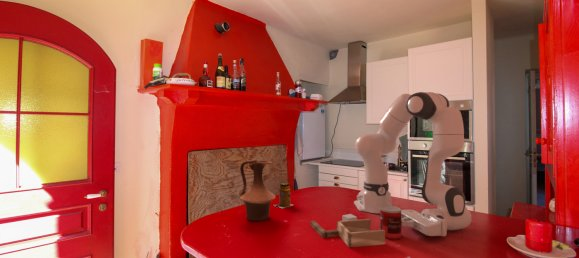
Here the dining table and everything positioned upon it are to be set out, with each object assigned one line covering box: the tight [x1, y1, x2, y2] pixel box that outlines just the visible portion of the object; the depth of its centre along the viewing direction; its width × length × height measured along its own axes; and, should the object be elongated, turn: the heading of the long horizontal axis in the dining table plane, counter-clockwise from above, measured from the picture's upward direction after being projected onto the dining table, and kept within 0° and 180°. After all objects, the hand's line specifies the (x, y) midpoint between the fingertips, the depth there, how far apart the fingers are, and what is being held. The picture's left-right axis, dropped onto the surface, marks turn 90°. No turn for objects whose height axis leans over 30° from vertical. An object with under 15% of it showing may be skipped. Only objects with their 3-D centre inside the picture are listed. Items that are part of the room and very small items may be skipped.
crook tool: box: [309, 220, 340, 239], centre depth 116 cm, size 14×7×2 cm, turn 16°
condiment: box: [273, 182, 294, 209], centre depth 152 cm, size 7×8×12 cm
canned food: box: [379, 205, 402, 241], centre depth 110 cm, size 8×8×11 cm
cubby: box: [336, 218, 386, 248], centre depth 108 cm, size 13×14×5 cm
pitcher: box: [238, 159, 276, 222], centre depth 133 cm, size 18×17×28 cm
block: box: [341, 213, 358, 221], centre depth 121 cm, size 4×4×4 cm
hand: (399, 222), depth 110 cm, fingers closed, pressing on canned food
